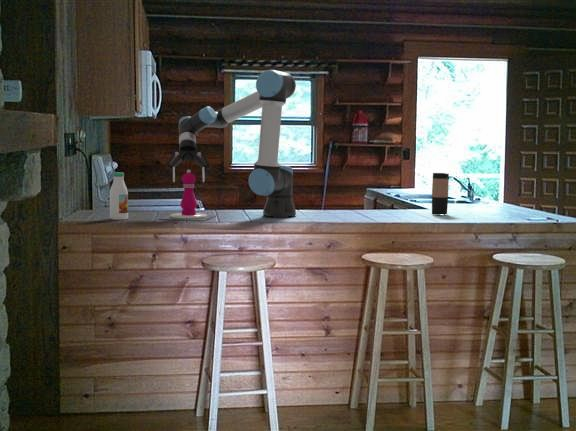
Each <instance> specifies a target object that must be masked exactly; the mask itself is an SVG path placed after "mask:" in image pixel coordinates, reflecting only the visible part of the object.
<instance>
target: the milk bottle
mask: <svg viewBox="0 0 576 431" xmlns="http://www.w3.org/2000/svg"><path fill="white" fill-rule="evenodd" d="M112 178H113V181H112V184H111V187H110V189H109V219H110V220H116V221H117V220H118V221H119V220H120V221H122V220H128V219H129V192H128V188H127V185H126V183H125V180H124V178H125V173H124V172H113V173H112Z"/></svg>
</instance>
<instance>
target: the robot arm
mask: <svg viewBox="0 0 576 431" xmlns="http://www.w3.org/2000/svg"><path fill="white" fill-rule="evenodd" d="M296 85H297V84H296V80H295V78H294V76H292V75H291V74H290V73H289V72H286V71H285V72H284V71H280V70H277V69H267V70H264V71H263V72H261V73H259V75H258V77H257V79H256V82H255V88H256V91H255V92H253V93H251V94H249V95H246V96H245V97H243V98H241V99H238V100H236V101H235V102H234V101H233V102H232V103H230V104H227V105H226V106H224V107H222V108H220V109H218V110H216V111H215V110H214V108H213V107H211V106H210V105H209V106H207V105H206V106H205V107H203V108H201V109H200V110H199V111H197V112H196V113H195V114H192V116H189V115H186V116H182V117H181V118H180V119H179V122H178V127H177V128H178V142H179V143H178V144H179V147H178V150H179V151H176V150H172V154H171V156H170V158H169V159H168V161H167V162H166V163H165V169H166V170H169V174H170V176H172V182H173V183H175V182H176V181H175V180H176V172H175V170H176V167H178V166H179V165H180V164H181V163H183V162H193V163H195V164H197V166H198V167H199V168H201V171H202V176H201V177H202V183H205V178H206V176H207V175H208V170H209V171H210V170H211V165H212V164H211V163H210V162H209V160H208V159H207V157H206V156H205V154H204V151H203V150H201V151H200V152H198V151H197V140H196V139H197V138H196V135H197V133H199V132H201V131H202V130H204V129H205V128H217V129H223V128H226V127H227V126H228V125H229V123H232V122H234V121H235V120H236V121H237V120H238V119H240V118H242V117H245V116H246V115H248V114H251V113H253V112H255V111H257V110H259V109H261V118H260V129H259V130H260V131H259V132H260V133H259V141H258V142H259V143H258V144H259V145H258V157H257V160H256V161H255V162H254V163H253V170H252V171H251V173H249V177H248V185H249V188H250V189H251V191H252V192H253V193H255V194H256V195H258V196H266V201H265V205H264V207H263V211H262V216H263V215H266V216H275V217H274V218H288V217H287V216H295V215H296V216H297V211H296V207H295V203H294V201H293V186H294V185H293V181H294V180H293V179H294V174H293V172H294V171H293V167H291V166H289V165H282V164H280V163H279V161H278V158H279V146H280V136H281V124H282V110H283V106H285V105H286V104H287V99H289V98H290V97H291V96H293V94H294V93H295V91H296ZM177 156H178V157H177ZM176 158H177V159H176ZM266 216H265V217H266ZM296 216H295V217H296Z"/></svg>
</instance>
